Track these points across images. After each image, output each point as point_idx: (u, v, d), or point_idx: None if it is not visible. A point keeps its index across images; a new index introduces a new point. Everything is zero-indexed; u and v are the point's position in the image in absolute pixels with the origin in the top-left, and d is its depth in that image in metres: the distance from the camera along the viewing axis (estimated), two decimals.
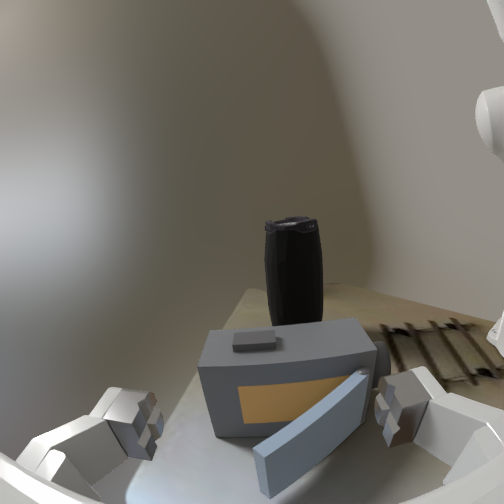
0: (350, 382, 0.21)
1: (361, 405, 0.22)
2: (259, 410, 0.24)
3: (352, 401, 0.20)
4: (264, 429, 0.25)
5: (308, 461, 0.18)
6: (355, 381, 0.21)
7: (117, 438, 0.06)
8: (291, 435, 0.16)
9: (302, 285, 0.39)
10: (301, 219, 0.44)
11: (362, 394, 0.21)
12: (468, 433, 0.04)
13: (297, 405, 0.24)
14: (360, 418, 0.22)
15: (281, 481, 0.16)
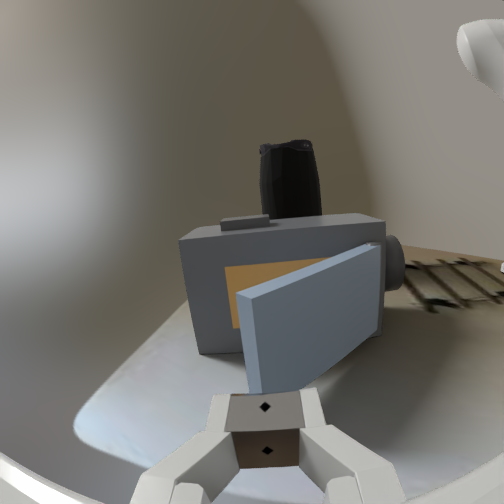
0: (359, 249, 0.18)
1: (376, 294, 0.20)
2: None
3: (365, 275, 0.18)
4: None
5: (316, 354, 0.16)
6: (365, 248, 0.18)
7: (235, 450, 0.06)
8: (289, 281, 0.14)
9: (299, 203, 0.37)
10: None
11: (376, 275, 0.19)
12: (340, 475, 0.04)
13: None
14: (376, 318, 0.20)
15: (280, 377, 0.14)
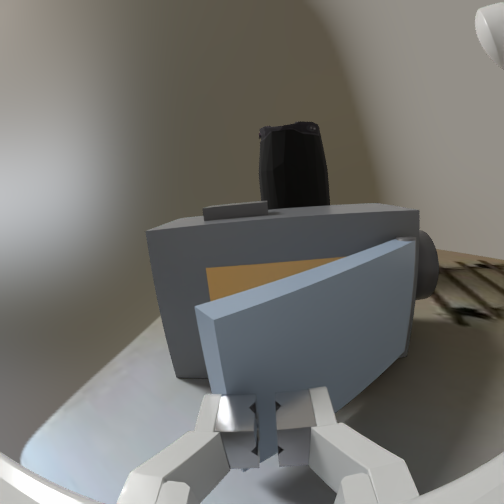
0: (389, 245, 0.13)
1: (407, 306, 0.14)
2: None
3: (396, 281, 0.13)
4: None
5: None
6: (397, 244, 0.13)
7: (225, 450, 0.06)
8: (286, 290, 0.09)
9: (304, 194, 0.31)
10: None
11: (409, 281, 0.14)
12: (352, 473, 0.04)
13: None
14: (405, 337, 0.15)
15: (267, 429, 0.09)
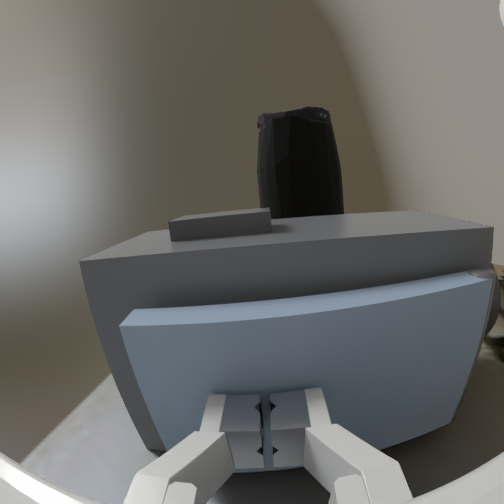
0: (445, 281, 0.08)
1: (464, 370, 0.08)
2: None
3: (440, 337, 0.07)
4: None
5: None
6: (456, 282, 0.07)
7: (230, 450, 0.06)
8: (211, 319, 0.07)
9: (314, 197, 0.25)
10: None
11: (471, 337, 0.07)
12: (346, 474, 0.04)
13: None
14: (454, 407, 0.08)
15: None
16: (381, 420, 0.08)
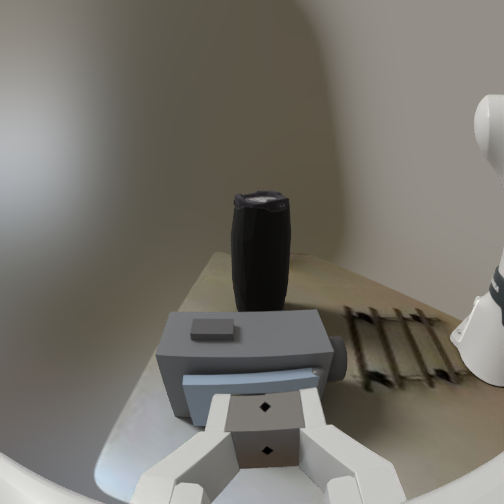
0: (296, 373, 0.23)
1: None
2: None
3: (292, 390, 0.23)
4: None
5: None
6: (301, 375, 0.23)
7: (235, 450, 0.06)
8: (212, 382, 0.22)
9: (267, 264, 0.39)
10: (273, 194, 0.42)
11: None
12: (340, 476, 0.04)
13: None
14: None
15: (203, 416, 0.24)
16: None
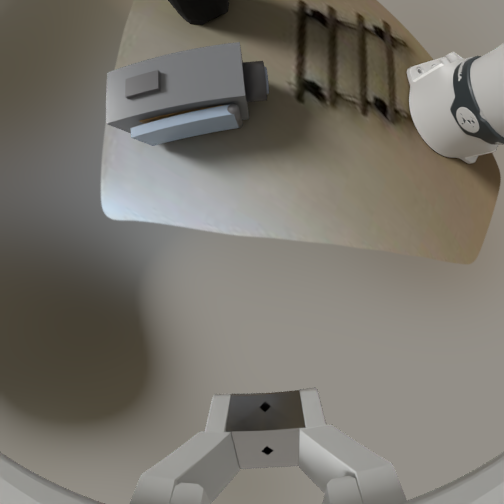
0: (214, 111, 0.28)
1: (232, 122, 0.31)
2: None
3: (214, 121, 0.29)
4: None
5: (177, 136, 0.33)
6: (218, 113, 0.28)
7: (235, 450, 0.06)
8: (151, 129, 0.28)
9: None
10: None
11: (230, 119, 0.30)
12: (340, 476, 0.04)
13: None
14: (237, 126, 0.33)
15: (156, 141, 0.33)
16: (205, 130, 0.33)
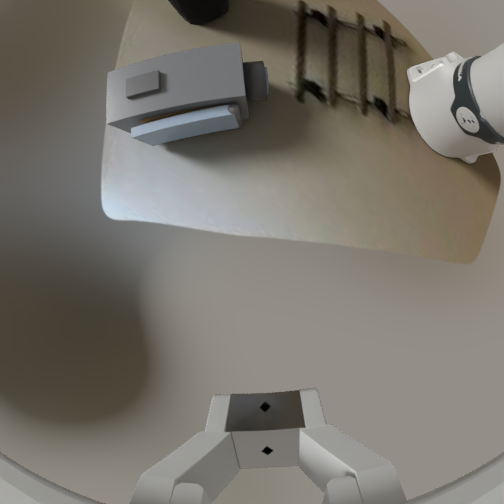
0: (215, 111, 0.28)
1: (232, 122, 0.31)
2: None
3: (214, 121, 0.29)
4: None
5: (178, 136, 0.33)
6: (218, 113, 0.28)
7: (235, 450, 0.06)
8: (151, 129, 0.28)
9: None
10: None
11: (230, 119, 0.30)
12: (340, 476, 0.04)
13: None
14: (237, 126, 0.33)
15: (156, 141, 0.33)
16: (205, 129, 0.33)
